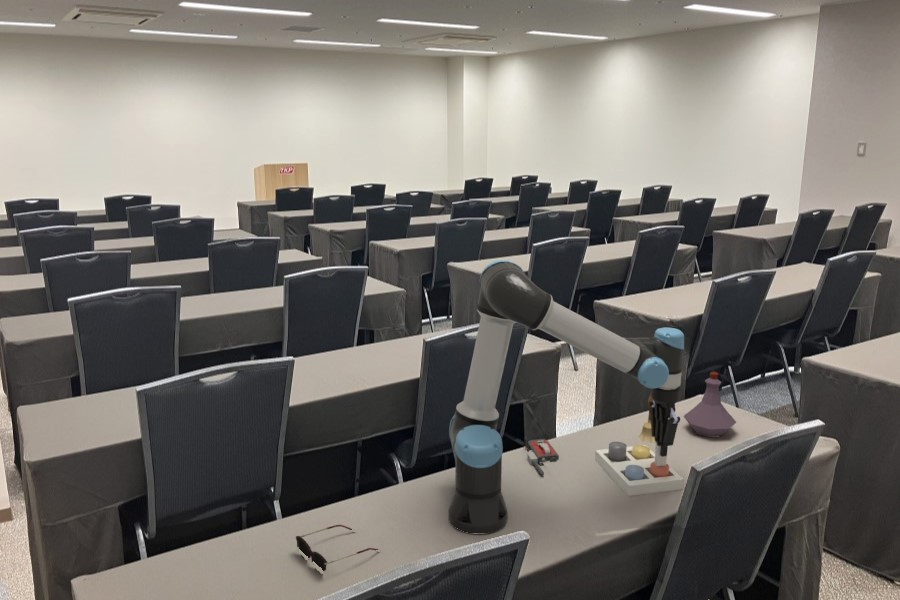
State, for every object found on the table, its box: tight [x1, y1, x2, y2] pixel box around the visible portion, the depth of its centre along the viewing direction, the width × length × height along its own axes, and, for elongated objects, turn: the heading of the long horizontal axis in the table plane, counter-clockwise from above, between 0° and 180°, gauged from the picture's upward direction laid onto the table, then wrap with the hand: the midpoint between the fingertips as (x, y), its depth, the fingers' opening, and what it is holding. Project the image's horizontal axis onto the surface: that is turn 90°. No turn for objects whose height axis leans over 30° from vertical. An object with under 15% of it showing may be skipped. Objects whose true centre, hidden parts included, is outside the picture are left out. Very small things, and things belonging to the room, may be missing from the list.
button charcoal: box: [608, 441, 628, 462], centre depth 218 cm, size 5×5×4 cm
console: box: [594, 444, 684, 497], centre depth 215 cm, size 16×22×4 cm
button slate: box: [625, 465, 644, 481], centre depth 208 cm, size 5×5×4 cm
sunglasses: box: [295, 524, 378, 572], centre depth 179 cm, size 14×16×5 cm
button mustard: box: [632, 444, 651, 460], centre depth 221 cm, size 5×5×4 cm
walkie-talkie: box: [525, 438, 560, 476], centre depth 225 cm, size 9×4×20 cm
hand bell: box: [637, 393, 656, 444], centre depth 237 cm, size 8×8×16 cm
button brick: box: [650, 462, 670, 478], centre depth 210 cm, size 5×5×4 cm
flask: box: [683, 371, 737, 437], centre depth 243 cm, size 16×16×20 cm
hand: (660, 464), depth 210 cm, fingers closed
